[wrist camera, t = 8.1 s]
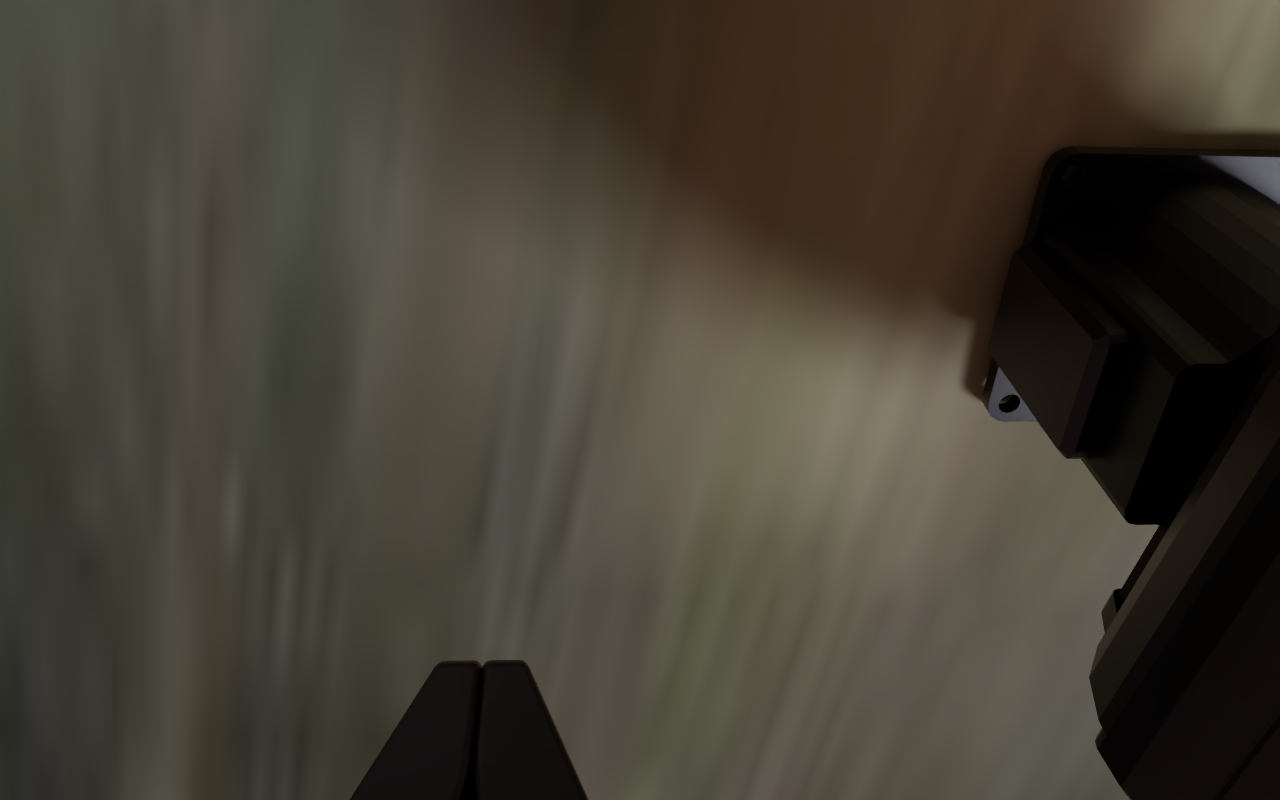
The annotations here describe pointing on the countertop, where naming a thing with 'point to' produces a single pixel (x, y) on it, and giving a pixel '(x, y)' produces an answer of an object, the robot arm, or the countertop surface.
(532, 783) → the robot arm
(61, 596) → the countertop surface
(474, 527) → the countertop surface
